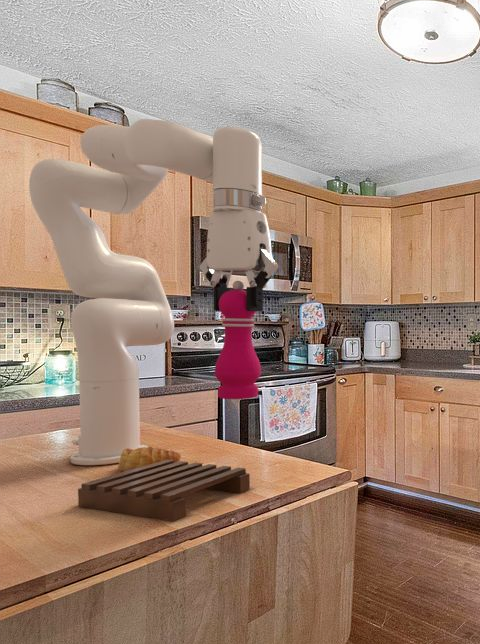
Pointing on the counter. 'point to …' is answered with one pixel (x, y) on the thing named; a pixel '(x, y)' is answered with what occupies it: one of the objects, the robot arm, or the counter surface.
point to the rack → (159, 488)
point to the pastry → (145, 457)
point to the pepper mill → (237, 348)
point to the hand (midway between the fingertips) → (238, 310)
